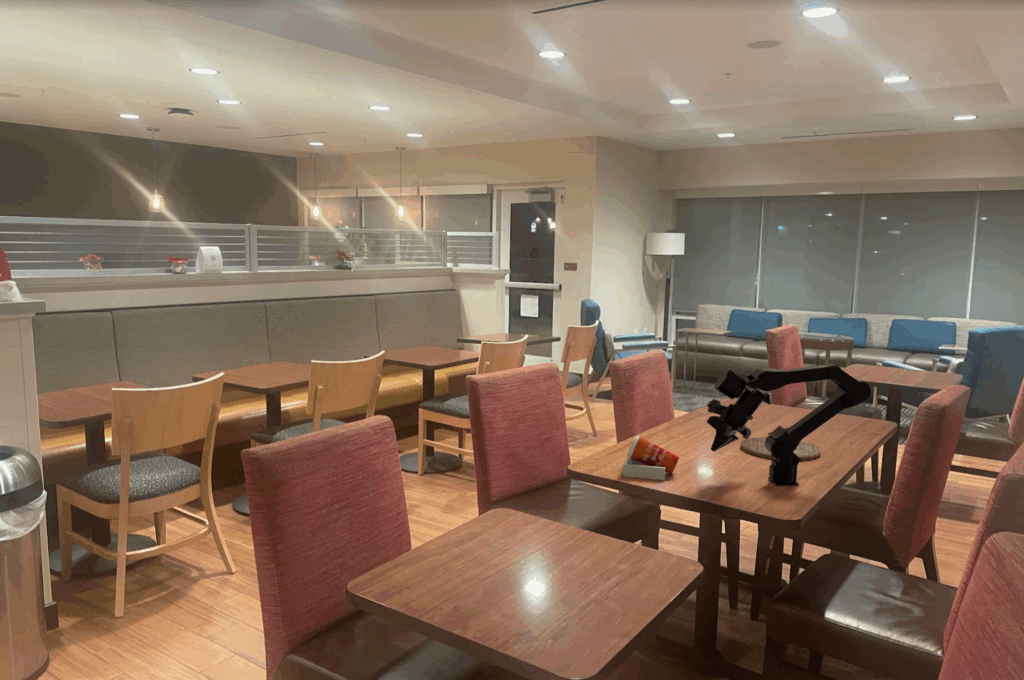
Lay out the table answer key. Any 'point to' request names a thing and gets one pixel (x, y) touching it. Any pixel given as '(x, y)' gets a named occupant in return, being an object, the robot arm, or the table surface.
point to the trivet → (758, 449)
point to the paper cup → (652, 454)
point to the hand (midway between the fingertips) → (712, 450)
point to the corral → (642, 470)
